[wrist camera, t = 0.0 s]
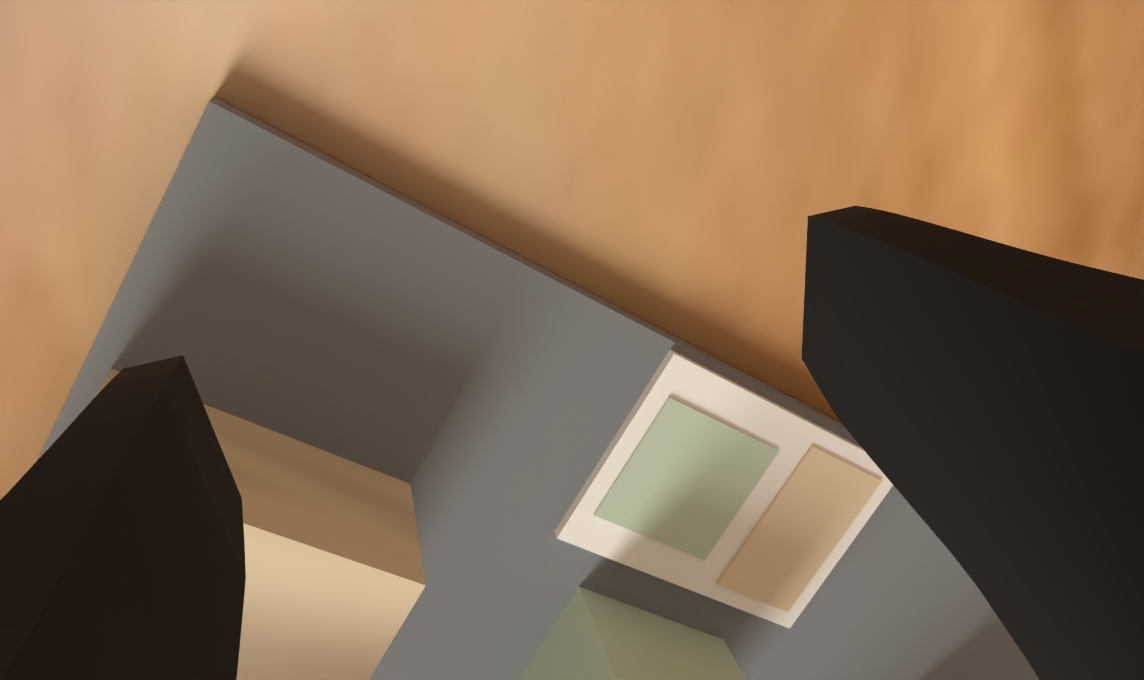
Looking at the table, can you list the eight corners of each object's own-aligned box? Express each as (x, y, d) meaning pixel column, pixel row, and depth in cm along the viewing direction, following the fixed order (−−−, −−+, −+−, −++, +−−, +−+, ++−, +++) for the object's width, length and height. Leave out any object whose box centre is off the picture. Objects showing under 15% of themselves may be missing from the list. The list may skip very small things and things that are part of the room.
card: (784, 621, 26) (791, 631, 26) (554, 531, 23) (557, 540, 23) (897, 465, 25) (905, 472, 25) (670, 349, 22) (675, 355, 22)
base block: (281, 704, 23) (271, 839, 20) (-15, 625, 20) (-88, 765, 17) (410, 484, 22) (425, 585, 18) (111, 368, 19) (59, 460, 15)
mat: (851, 911, 34) (863, 931, 33) (-73, 695, 22) (-87, 720, 21) (1125, 571, 30) (1144, 586, 30) (213, 96, 18) (209, 101, 18)
